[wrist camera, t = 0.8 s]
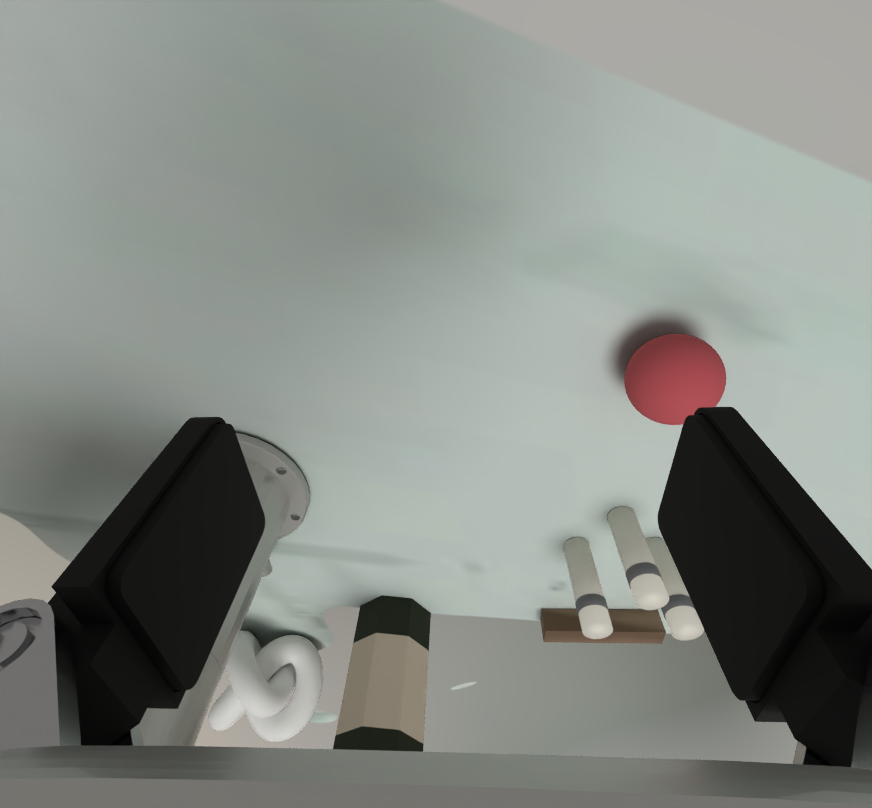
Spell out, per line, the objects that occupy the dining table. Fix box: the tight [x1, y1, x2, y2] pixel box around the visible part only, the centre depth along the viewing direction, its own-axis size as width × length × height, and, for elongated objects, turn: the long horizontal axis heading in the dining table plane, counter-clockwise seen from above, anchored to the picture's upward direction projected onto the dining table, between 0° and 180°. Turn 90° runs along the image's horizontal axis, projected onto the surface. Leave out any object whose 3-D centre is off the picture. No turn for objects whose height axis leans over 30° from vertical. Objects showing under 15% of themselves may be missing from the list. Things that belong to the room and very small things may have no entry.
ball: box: [624, 334, 726, 425], centre depth 32 cm, size 6×6×6 cm
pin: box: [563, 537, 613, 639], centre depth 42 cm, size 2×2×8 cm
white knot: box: [208, 631, 323, 742], centre depth 53 cm, size 11×12×9 cm
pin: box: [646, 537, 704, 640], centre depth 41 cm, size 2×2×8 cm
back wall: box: [541, 609, 666, 644], centre depth 50 cm, size 2×12×2 cm, turn 93°
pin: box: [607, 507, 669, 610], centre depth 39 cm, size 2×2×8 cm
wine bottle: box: [333, 596, 431, 752], centre depth 41 cm, size 8×8×30 cm
